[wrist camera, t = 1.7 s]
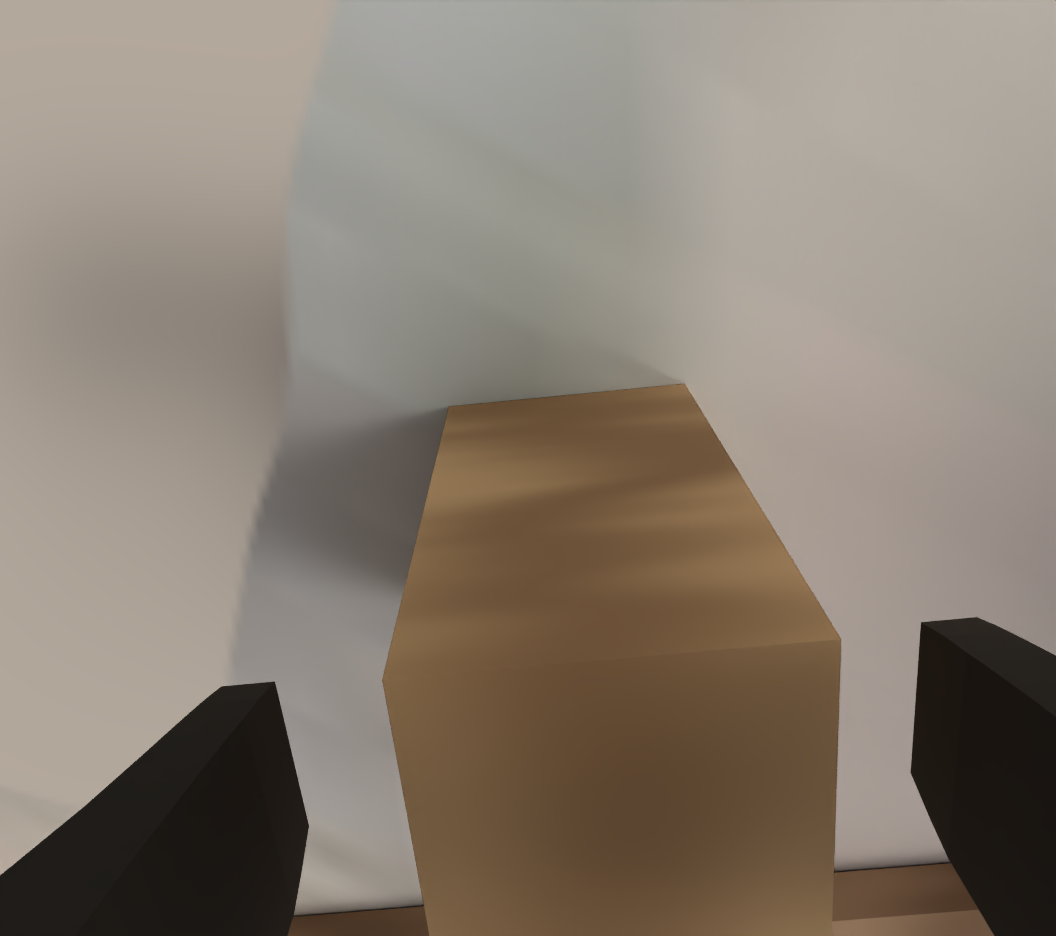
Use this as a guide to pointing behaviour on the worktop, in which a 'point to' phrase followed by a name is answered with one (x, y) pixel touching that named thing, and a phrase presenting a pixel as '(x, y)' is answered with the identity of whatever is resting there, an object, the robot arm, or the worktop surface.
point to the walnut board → (857, 922)
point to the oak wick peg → (610, 683)
